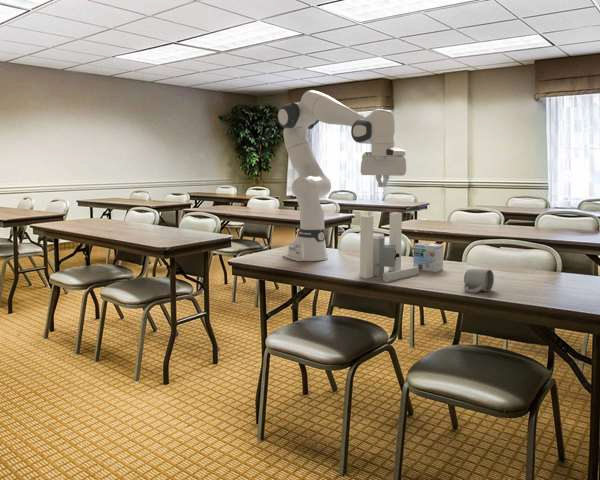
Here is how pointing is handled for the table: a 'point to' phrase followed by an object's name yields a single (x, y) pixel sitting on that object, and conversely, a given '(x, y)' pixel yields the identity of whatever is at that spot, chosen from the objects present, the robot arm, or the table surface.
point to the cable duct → (400, 273)
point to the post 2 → (396, 237)
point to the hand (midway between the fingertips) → (382, 187)
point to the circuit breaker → (382, 255)
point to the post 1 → (366, 247)
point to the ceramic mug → (478, 280)
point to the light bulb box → (428, 256)
